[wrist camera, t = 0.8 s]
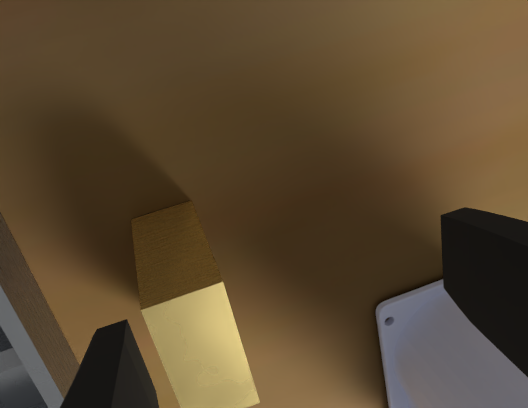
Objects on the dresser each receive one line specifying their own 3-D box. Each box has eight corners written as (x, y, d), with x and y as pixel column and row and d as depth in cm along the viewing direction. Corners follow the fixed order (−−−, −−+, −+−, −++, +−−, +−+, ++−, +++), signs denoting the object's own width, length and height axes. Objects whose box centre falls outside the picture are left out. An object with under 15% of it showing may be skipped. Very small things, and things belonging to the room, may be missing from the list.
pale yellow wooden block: (222, 300, 22) (259, 402, 17) (169, 319, 22) (189, 429, 16) (191, 200, 20) (223, 281, 14) (130, 219, 19) (140, 310, 14)
